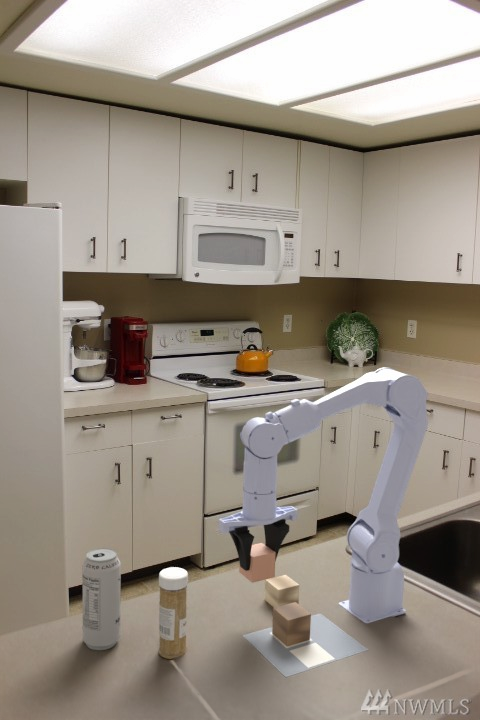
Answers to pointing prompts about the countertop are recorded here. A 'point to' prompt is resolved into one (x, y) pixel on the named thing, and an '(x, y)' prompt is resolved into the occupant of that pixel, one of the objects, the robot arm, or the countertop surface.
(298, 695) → the countertop surface
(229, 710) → the countertop surface
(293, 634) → the walnut block
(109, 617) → the energy drink can
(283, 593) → the maple block
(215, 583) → the countertop surface
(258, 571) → the terracotta block
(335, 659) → the build board
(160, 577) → the sprinkles bottle
